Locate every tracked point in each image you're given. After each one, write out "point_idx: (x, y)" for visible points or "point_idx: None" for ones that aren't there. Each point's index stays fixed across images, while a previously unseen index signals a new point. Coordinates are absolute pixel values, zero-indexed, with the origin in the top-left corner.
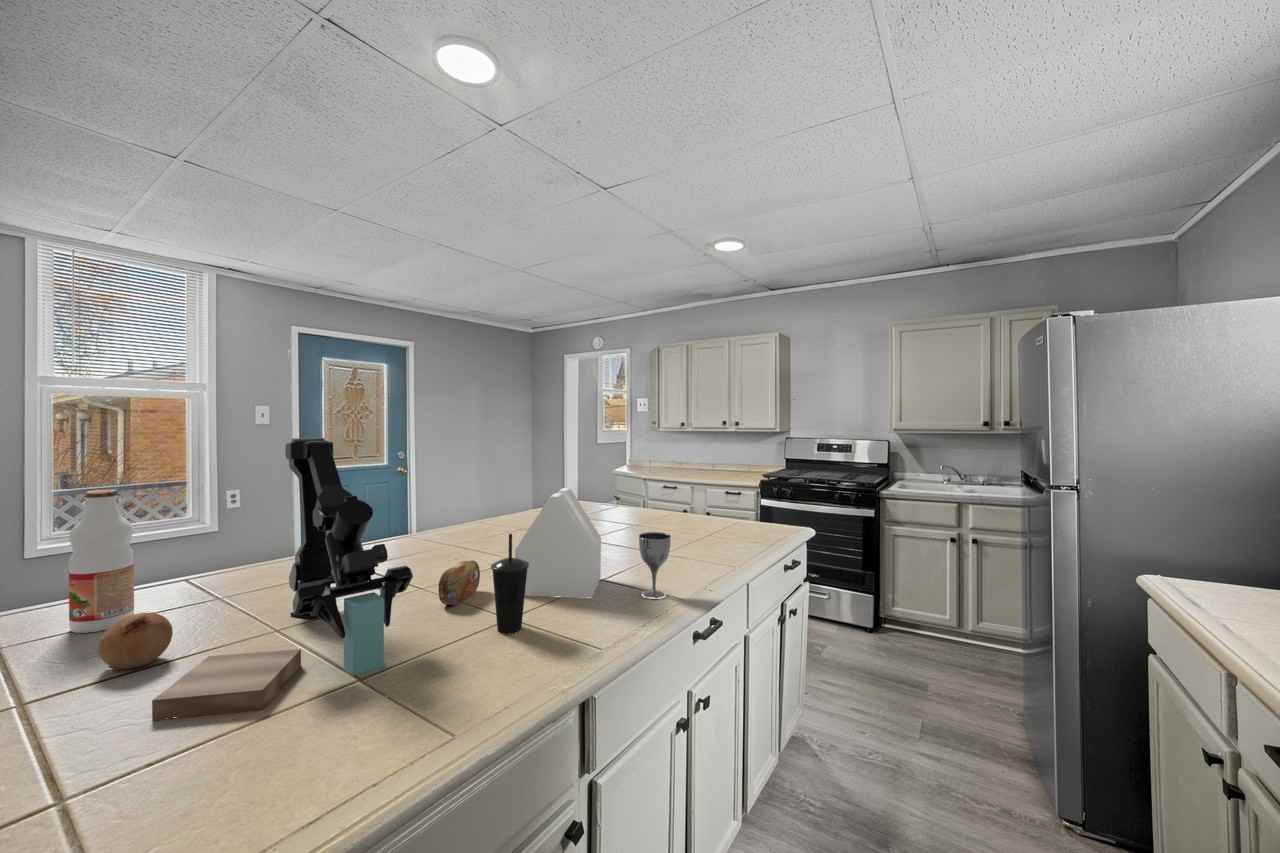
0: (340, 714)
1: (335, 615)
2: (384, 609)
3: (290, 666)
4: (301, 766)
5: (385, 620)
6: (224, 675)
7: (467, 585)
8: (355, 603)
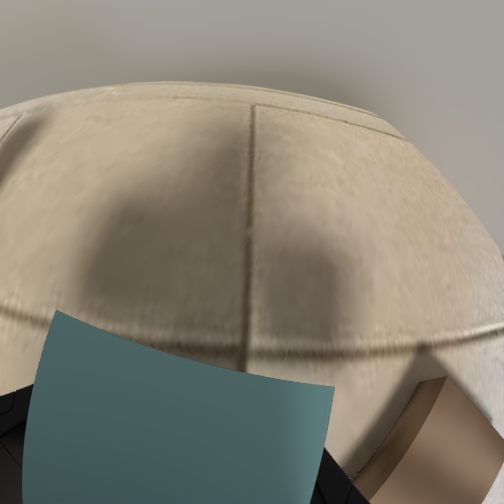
0: (337, 249)
1: (346, 497)
2: None
3: None
4: (397, 190)
5: None
6: (455, 491)
7: None
8: (282, 443)
